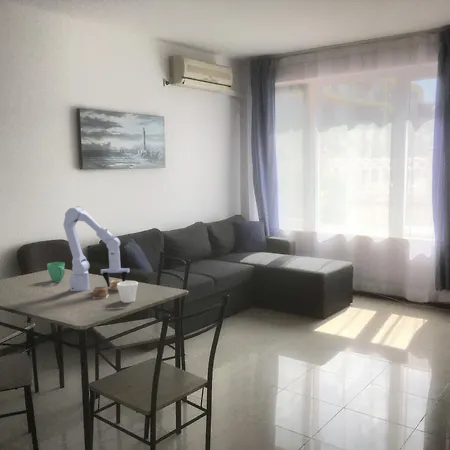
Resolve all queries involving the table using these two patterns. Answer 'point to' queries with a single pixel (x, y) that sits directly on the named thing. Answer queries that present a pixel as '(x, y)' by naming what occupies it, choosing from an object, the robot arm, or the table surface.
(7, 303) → the table surface
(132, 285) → the cup
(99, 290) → the walnut block
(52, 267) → the mug
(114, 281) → the oak cube
